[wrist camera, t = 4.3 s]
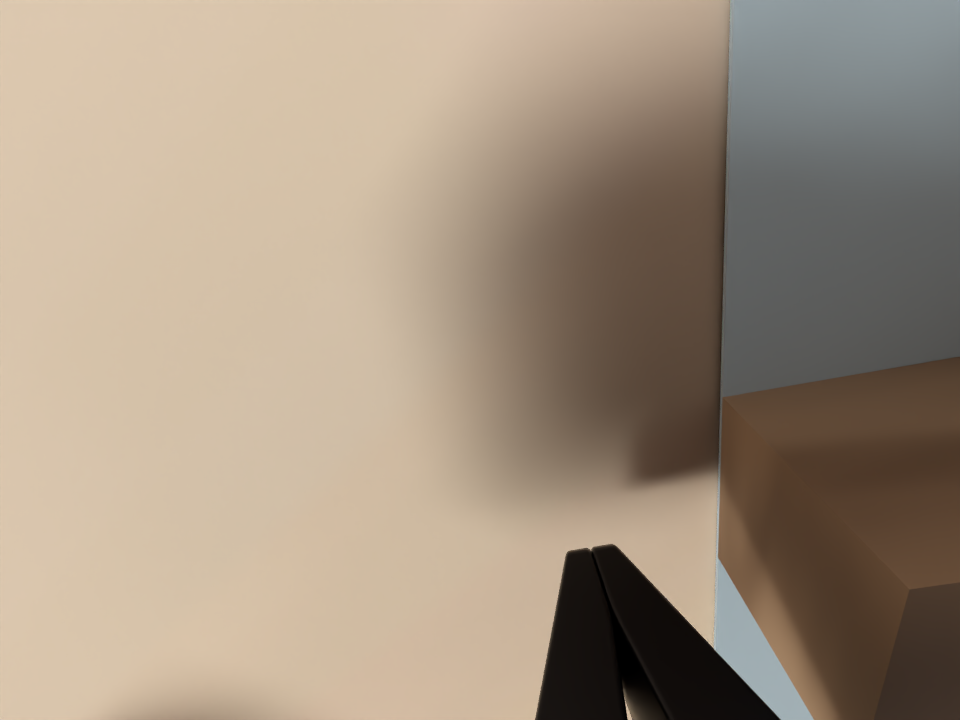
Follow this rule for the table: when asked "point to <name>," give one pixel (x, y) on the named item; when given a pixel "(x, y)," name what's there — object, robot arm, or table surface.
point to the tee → (851, 536)
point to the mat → (834, 220)
